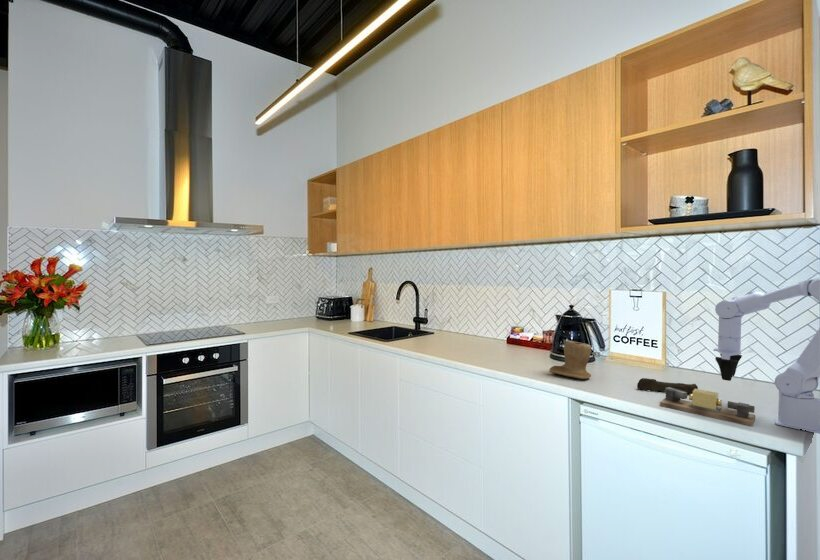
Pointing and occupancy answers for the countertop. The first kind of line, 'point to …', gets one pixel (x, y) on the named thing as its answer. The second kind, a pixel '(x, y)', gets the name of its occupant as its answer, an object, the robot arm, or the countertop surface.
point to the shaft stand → (737, 416)
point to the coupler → (705, 399)
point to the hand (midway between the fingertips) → (728, 377)
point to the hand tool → (664, 385)
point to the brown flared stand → (574, 360)
